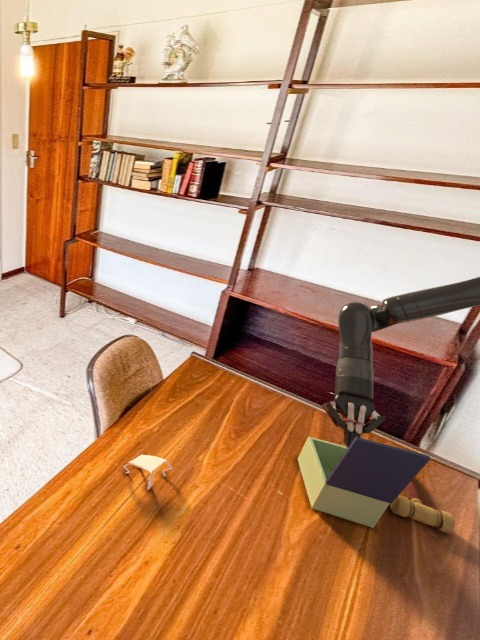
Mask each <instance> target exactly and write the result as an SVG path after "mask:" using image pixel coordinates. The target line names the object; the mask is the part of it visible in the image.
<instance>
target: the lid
mask: <svg viewBox="0 0 480 640" xmlns="http://www.w3.org/2000/svg"><path fill="white" fill-rule="evenodd" d="M430 460H431V457H430V456H429V455H427V454H425V453H420V452H416V451H413V450H412V451H411V450H408V449H404V448H402V447H401V448H400V447H396V446H393V445H389V444H385V443H382V442H378V441H374V440H371V439H367V438H362V437H361V438H359V437H355V439H354V440H353V441H352V443H351V444H350V446H349V447H348V449H347V450H346V452H345V453H344V455H343V456H342V458H341V459H340V461H339V462H338V463H337V465H336V466H335V468H334V469H333V471H332V472H331V474H330V475H329V477H328V478H327V480H326V481H325V483H326V485H330V486H333V487H336V488H340V489H343V490H347V491H350V492H353V493H357V494H360V495H363V496H367V497H370V498H373V499H377V500H380V501H383V502H387V503H390V504H389V505H391V503H392V502H393V501H394V500H395V499H396V498H397V497H398V495H401V494H402V493H403V491H404V489H405V488H406V486H407V485H408V484H409V483H410V482H411V481H412V480H413V481H414V478H416V477H417V475H418V474H419V473H420V472H421V471H422V469H424V467H425V466H426V465H427V464H428V463H429V461H430Z"/></svg>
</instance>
